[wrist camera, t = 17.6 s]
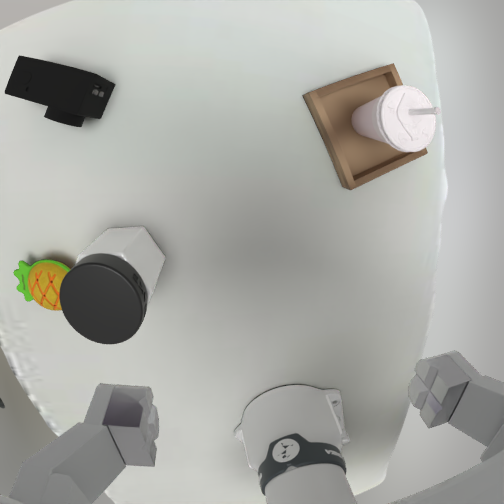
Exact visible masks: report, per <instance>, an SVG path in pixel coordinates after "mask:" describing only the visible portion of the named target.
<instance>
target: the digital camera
mask: <svg viewBox="0 0 504 504" xmlns="http://www.w3.org/2000/svg"><path fill="white" fill-rule="evenodd" d="M114 87H115V84H114V83H112V82H110V81H108V80H106V79H104V78H103V77H101V76H99V75H97V74H95V73H91V72H88V71H84V70H80V69H77V68H73V67H69V66H65V65H61V64H57V63H52V62H48V61H44V60H39V59H34V58H29V57H24V56H19V57H18V59H17V61H16V64H15V66H14V69H13V71H12V74H11V76H10V79H9V81H8V84H7V87H6V89H5V94H8V95H11V96H15V97H19V98H22V99H26V100H29V101H32V102H36V103H39V104H42V105H46V106H48V108H47V110H46V113H45V116H44V117H45V118H48V119H50V120H53V121H56V122H59V123H63V124H67V125H71V126H76V127H82V124H83V121H84V118H85V117H92V118H98V119H100V118H101V117H102V115H103V112H104V110H105V107H106V105H107V103H108V100H109V98H110V96H111V93H112V91H113V89H114Z"/></svg>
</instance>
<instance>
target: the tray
mask: <svg viewBox="0 0 504 504" xmlns="http://www.w3.org/2000/svg"><path fill="white" fill-rule="evenodd" d="M401 85H403V84H402V81H401V79H400V77H399V74H398V72H397V70H396V68H395V65H394V64H390V65H387V66H384V67H380V68H377V69H374V70H371V71H368V72H365V73H362V74H359V75H356V76H353V77H350V78H347V79H344V80H341V81H338V82H336V83H333V84H330V85H327V86H325V87H322V88H319V89H317V90H314V91H312V92H309V93H307V94H305V95H303V98H304V100H305V102H306V104H307V106H308V108H309V110H310V112H311V115H312V117H313V119H314V121H315V123H316V125H317V128H318V130H319V132H320V134H321V137H322V139H323V141H324V143H325V146H326V148H327V150H328V153H329V155H330V157H331V160H332V162H333V165H334V167H335V169H336V172H337V174H338V177H339V179H340V182H341V184H342V187H344V188H346V189H349V190H352V189H354V188H356V187H358V186H360V185H363V184H365V183H367V182H369V181H371V180H373V179H375V178H377V177H379V176H381V175H383V174H385V173H387V172H390V171H392V170H394V169H396V168H398V167H400V166H402V165H404V164H406V163H408V162H410V161H413V160H415V159H417V158H419V157H421V156H423V155H425V154H427V150H426V147H425V148H424V149H422V150H420V151H417V152H402V151H398V150H397V149H395V148H393V147H392V146H391V145H390V144H387V143H384V142H381V141H378V140H375V139H371V138H368V137H365V136H362V135H360V134H358V133H357V132H356V131H355V130H354V128H353V126H352V120H351V119H352V114H353V112H354V111H355V110H356V109H357V108H358V107H360V106H362V105H364V104H366V103H368V102H370V101H372V100H374V99H376V98H378V97H380V96H382V95H383V94H384V92H385V91H387V90H388V89H390V88H391V87H395V86H401Z"/></svg>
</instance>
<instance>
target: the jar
mask: <svg viewBox="0 0 504 504" xmlns="http://www.w3.org/2000/svg"><path fill="white" fill-rule="evenodd" d="M165 259H166V257H165V256H164V254H163V253H162V251H161V250H160V249H159V247H158V246H157V244H156V243H155V242H154V240H153V239H152V237H151V236H150V234H149V233H148V232H147V230H146V229H145V227H143V226H139V227H124V228H109V229H107V230H106V231H105V232H103V233H102V234H101V235H100V236H99V237H98V238H97V239H96V240H94V241H93V242H92V243H91V244H90V245H89V246H88V247H87V248H86V249H85V250H84V251H82V252H81V253H80V254H79V255H78V258H77V261H76V264H75V265H74V266H73V267H72V268H71V269H70V270H69V272H68V273H67V274H66V275H65V277H64V278H63V280H62V283H61V286H60V292H59V299H60V305H61V308H62V311H63V313H64V316H65V317H66V319H67V321H68V322H69V323H70V325H71V326H72V327H73V328H74V329H75V330H76V331H77V332H78V333H80V334H81V335H82V336H84V337H85V338H87V339H89V340H91V341H94V342H97V343H102V344H117V343H121V342H124V341H126V340H128V339H130V338H131V337H132V336H133V335H134V334H135V333H136V332H137V331H138V329H139V327H140V326H141V324H142V322H143V320H144V317H145V314H146V310H147V304H148V303H149V301H150V299H151V297H152V294H153V292H154V290H155V287H156V285H157V280H158V277H159V274H160V272H161V269H162V267H163V264H164V261H165Z"/></svg>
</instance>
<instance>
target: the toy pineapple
mask: <svg viewBox="0 0 504 504" xmlns="http://www.w3.org/2000/svg"><path fill="white" fill-rule="evenodd" d="M18 265H19V269H16V270H15V271H14V275H15V276H16V277H17V278H18V279H19V281H20V284H19V285H18V286H17V290H18V291H19V292H22V293H23V294H24V296H25V300H26V301H31V300H33V299H34V300H35V301H36V302H37V303H38V304H39V305H41V306H43V307H44V308H47V309H50V310H62V308H61V305H60V299H59V292H60V286H61V283H62V280H63V278H64V277H65V275H66V274H67V273H68V272H69V270H70V268H69V267H68V266H66V265H65V264H63V263H61V262H58V261H54V260H40V261H37V262H35V263H34V264H33V265H32V266H30V265H28V264H27V263H26V262H24V261H19V264H18Z"/></svg>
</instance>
